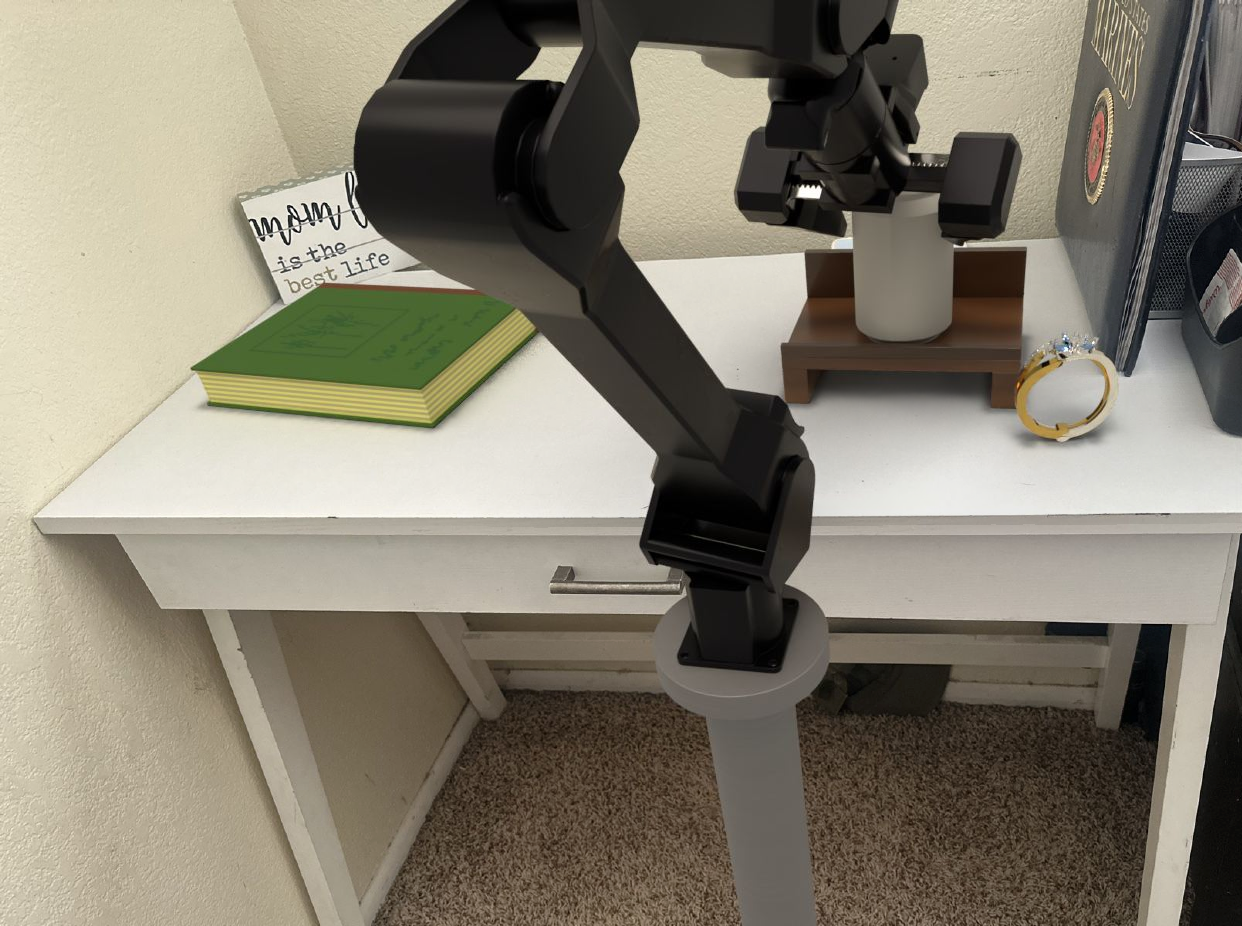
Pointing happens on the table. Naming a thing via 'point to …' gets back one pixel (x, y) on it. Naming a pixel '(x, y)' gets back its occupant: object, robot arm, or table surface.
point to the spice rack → (969, 344)
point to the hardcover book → (368, 354)
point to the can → (902, 272)
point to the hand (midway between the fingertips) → (901, 235)
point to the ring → (1064, 351)
